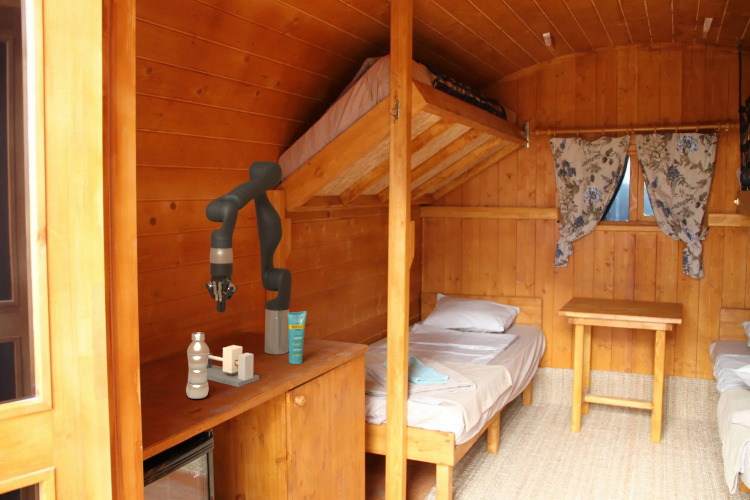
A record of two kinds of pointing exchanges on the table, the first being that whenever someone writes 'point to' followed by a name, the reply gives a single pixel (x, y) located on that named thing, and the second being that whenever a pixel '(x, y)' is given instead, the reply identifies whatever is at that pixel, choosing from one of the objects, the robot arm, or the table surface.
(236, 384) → the rod slider fixture
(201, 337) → the plastic bottle
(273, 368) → the table surface
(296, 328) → the tube
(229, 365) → the sleeve
